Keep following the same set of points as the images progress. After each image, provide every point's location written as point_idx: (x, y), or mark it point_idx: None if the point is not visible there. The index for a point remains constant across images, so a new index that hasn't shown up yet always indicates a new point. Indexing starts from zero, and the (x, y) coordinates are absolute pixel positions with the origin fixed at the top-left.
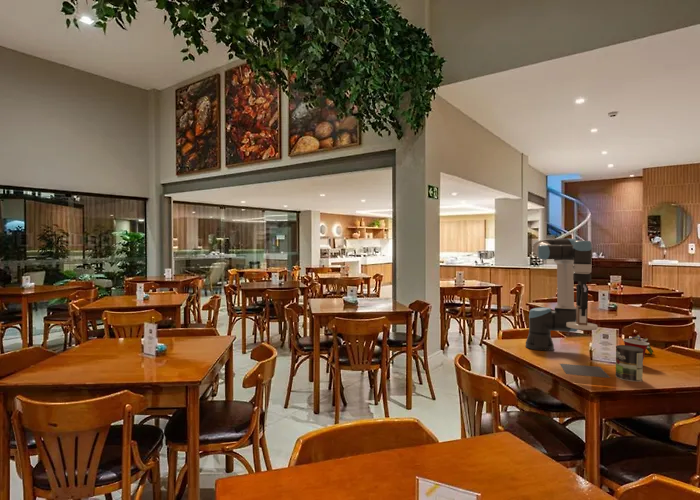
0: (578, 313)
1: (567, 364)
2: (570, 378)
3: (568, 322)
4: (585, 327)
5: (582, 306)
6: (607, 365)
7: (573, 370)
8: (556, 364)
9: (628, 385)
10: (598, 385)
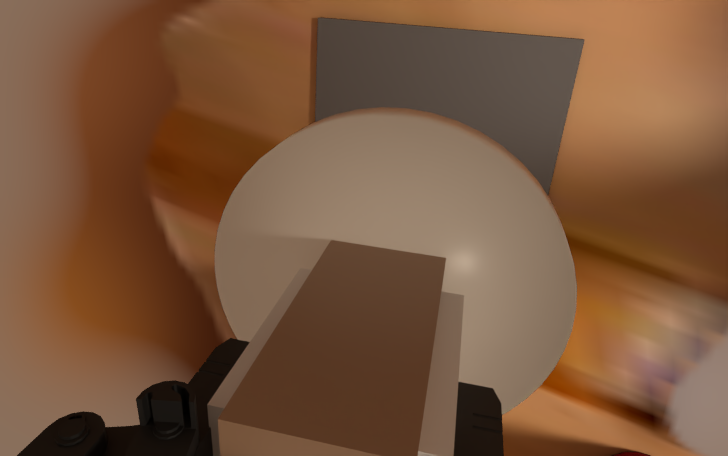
0: (273, 334)
1: (561, 94)
2: (254, 24)
3: (485, 171)
4: (219, 271)
5: (38, 447)
6: (593, 337)
7: (409, 90)
8: (583, 16)
9: None
10: (182, 140)
